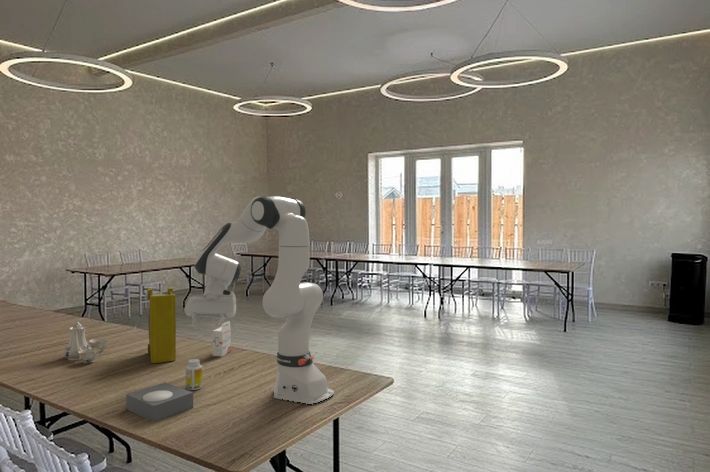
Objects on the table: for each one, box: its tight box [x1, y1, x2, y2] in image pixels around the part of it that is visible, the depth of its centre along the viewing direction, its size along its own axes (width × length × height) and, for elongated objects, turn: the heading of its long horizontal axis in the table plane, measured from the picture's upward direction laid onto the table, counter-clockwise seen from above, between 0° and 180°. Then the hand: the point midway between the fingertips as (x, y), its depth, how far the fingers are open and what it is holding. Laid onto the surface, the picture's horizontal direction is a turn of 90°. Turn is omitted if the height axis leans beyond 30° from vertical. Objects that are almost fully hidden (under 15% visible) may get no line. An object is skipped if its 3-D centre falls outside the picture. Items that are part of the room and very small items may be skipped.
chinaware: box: [63, 321, 110, 364], centre depth 210 cm, size 28×17×17 cm, turn 22°
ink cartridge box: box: [212, 320, 232, 358], centre depth 217 cm, size 9×5×15 cm, turn 168°
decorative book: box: [146, 286, 177, 364], centre depth 211 cm, size 20×11×30 cm, turn 26°
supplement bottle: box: [185, 358, 203, 391], centre depth 173 cm, size 6×6×10 cm
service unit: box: [125, 382, 194, 423], centre depth 155 cm, size 17×14×5 cm
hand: (205, 324), depth 185 cm, fingers open, 8 cm apart
